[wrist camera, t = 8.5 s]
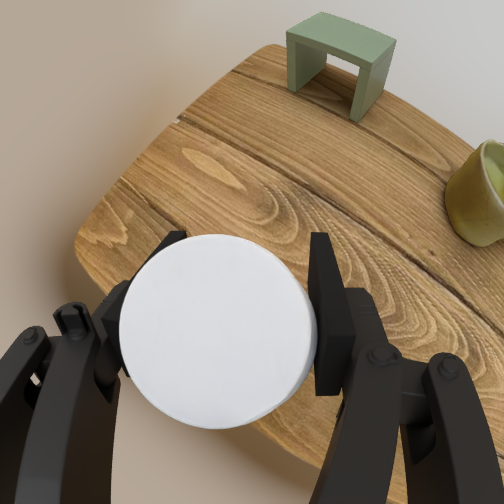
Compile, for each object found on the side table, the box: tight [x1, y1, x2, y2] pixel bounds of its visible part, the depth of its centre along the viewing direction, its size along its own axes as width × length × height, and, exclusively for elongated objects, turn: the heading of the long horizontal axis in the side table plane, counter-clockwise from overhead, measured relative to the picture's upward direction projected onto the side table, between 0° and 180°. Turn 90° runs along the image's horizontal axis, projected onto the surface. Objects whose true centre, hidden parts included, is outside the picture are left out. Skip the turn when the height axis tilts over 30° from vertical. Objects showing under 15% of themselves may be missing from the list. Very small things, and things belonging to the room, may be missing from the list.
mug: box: [445, 139, 504, 247], centre depth 21 cm, size 12×10×10 cm
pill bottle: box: [119, 234, 318, 429], centre depth 11 cm, size 6×6×10 cm
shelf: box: [286, 12, 396, 123], centre depth 28 cm, size 10×8×9 cm
